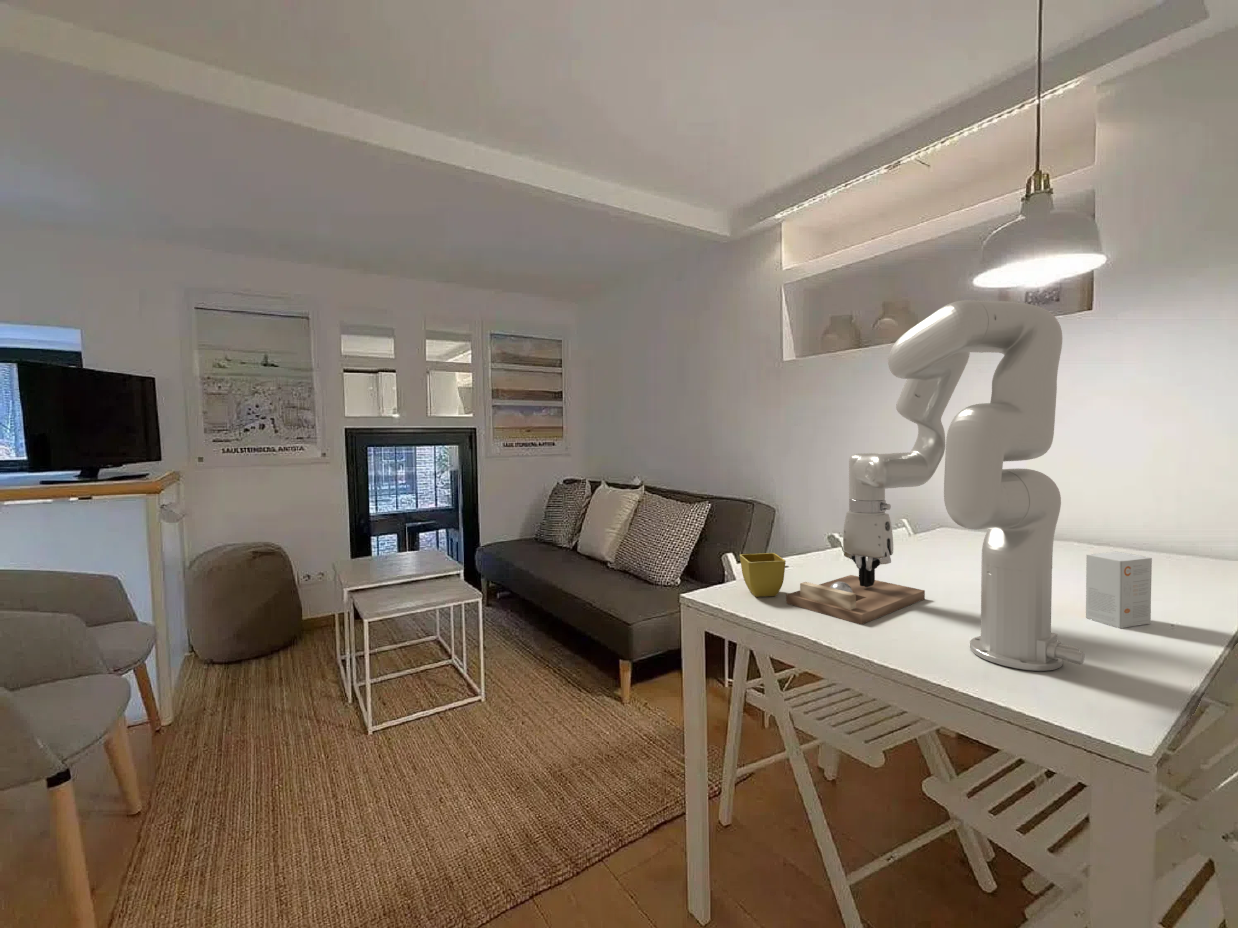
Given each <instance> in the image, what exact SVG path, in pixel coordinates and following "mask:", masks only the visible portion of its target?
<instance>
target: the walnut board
mask: <svg viewBox="0 0 1238 928" xmlns="http://www.w3.org/2000/svg"><path fill="white" fill-rule="evenodd" d="M835 582H845V583H847V584H848V585H849V586H850V587H851V588H852V591H853V593H851V592H846V591H842V590H838V589H834V588H830V586H831V585H832V584H833V583H835ZM799 586H800V587H799V590H797V591H793V592H789V593H788V594H787V593H786V594H785V597H786V598H785V599H786V600H785V603H786V604H789V605H791V606H795V607H798V608H802V609H805V610H808V611H813V612H816V613H819V614H823V615H826V616H830V617H833V618H837V619H839V620H844V621H847V622H850V623H854V624H857V625H865V624H867V623H870V622H872V621H875V620H876V619H879V618H881V617H884V616H887V615H889V614H892V613H894V612H896V611H899V610H901V609H904V608H907V607H909V606H911V605H913V604H916V603H918V602H921V601H923V600H925V598H926V593H925V592H926V590H925V589H920V588H914V587H911V586H905V585H900V584H896V583H890V582H886V581H881V580H877V579H875V582H874V584H873V585H872V586H869V587H865V586H860V581H859V575H854V574H849V575H846V576H843V577H840V578H835V579H833V580H830V581H827V582H823V583H820V584H816V583H813V582H808V581H804V582H800V584H799Z"/></svg>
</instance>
